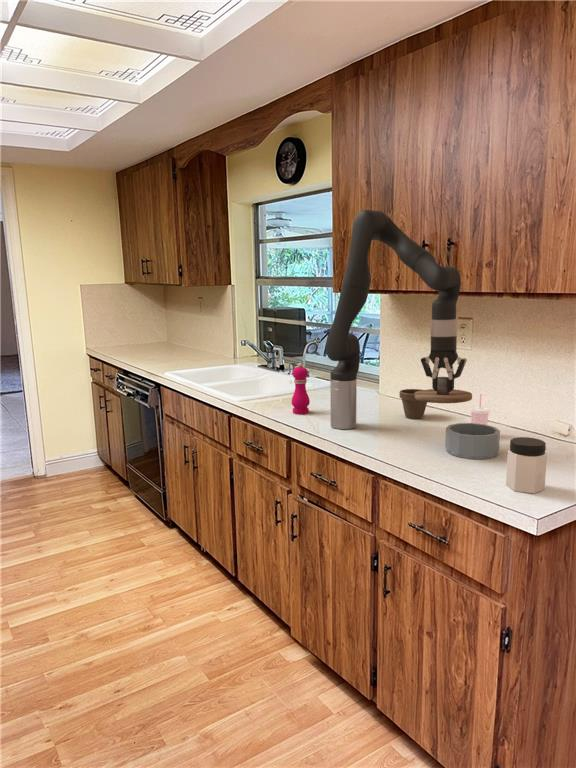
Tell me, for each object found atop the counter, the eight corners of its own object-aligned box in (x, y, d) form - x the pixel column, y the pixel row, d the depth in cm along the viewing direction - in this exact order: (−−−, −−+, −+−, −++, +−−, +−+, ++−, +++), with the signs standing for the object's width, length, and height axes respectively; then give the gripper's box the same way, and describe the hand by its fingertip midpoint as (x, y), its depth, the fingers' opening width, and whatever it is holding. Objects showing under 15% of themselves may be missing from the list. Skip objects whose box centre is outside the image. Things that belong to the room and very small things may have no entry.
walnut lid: (409, 393, 181) (409, 374, 180) (462, 391, 181) (462, 372, 180) (421, 404, 165) (421, 383, 164) (479, 402, 164) (480, 381, 163)
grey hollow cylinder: (440, 444, 179) (441, 423, 178) (488, 444, 179) (489, 422, 178) (453, 459, 164) (454, 436, 163) (505, 459, 164) (506, 435, 163)
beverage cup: (489, 438, 186) (492, 396, 183) (470, 437, 187) (472, 395, 184) (486, 433, 192) (488, 392, 189) (468, 432, 193) (469, 392, 190)
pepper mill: (299, 415, 220) (298, 364, 217) (288, 412, 226) (287, 362, 222) (313, 412, 224) (313, 363, 221) (302, 409, 230) (301, 361, 227)
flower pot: (417, 412, 222) (418, 387, 221) (436, 418, 212) (437, 392, 210) (393, 415, 218) (393, 390, 216) (410, 422, 208) (411, 395, 206)
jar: (529, 496, 136) (532, 448, 134) (500, 486, 143) (502, 441, 141) (550, 488, 141) (553, 441, 139) (520, 479, 148) (523, 434, 146)
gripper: (470, 333, 169) (469, 390, 172) (424, 333, 176) (424, 387, 179) (464, 335, 163) (463, 394, 166) (416, 335, 170) (416, 391, 173)
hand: (443, 390), depth 172 cm, fingers closed on walnut lid, 3 cm apart
